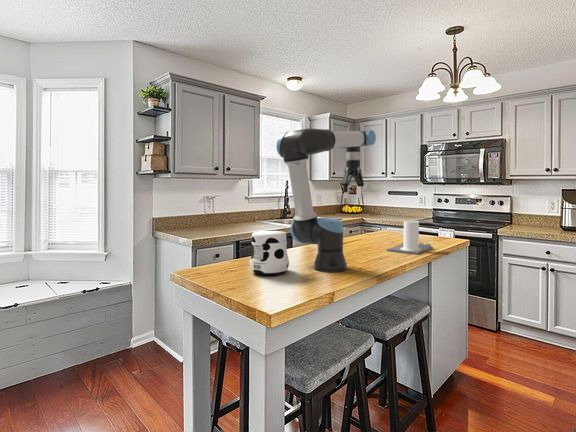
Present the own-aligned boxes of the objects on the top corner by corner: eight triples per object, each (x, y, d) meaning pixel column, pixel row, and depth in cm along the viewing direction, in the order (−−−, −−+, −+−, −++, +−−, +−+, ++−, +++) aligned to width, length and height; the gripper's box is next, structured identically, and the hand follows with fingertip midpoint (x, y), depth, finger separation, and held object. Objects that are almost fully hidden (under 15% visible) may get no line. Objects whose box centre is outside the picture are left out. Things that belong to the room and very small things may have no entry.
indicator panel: (417, 254, 192) (417, 247, 192) (386, 251, 204) (386, 244, 204) (432, 248, 210) (433, 242, 210) (403, 245, 222) (404, 239, 222)
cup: (403, 249, 200) (403, 222, 199) (403, 247, 208) (403, 220, 207) (418, 250, 198) (419, 222, 197) (417, 247, 206) (418, 220, 204)
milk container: (288, 267, 166) (287, 230, 165) (289, 277, 149) (289, 235, 148) (251, 268, 166) (250, 230, 164) (249, 278, 148) (247, 235, 147)
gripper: (347, 158, 185) (346, 198, 187) (369, 160, 204) (369, 197, 206) (335, 159, 190) (335, 198, 192) (358, 161, 209) (358, 197, 210)
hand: (352, 198), depth 199 cm, fingers open, 13 cm apart
